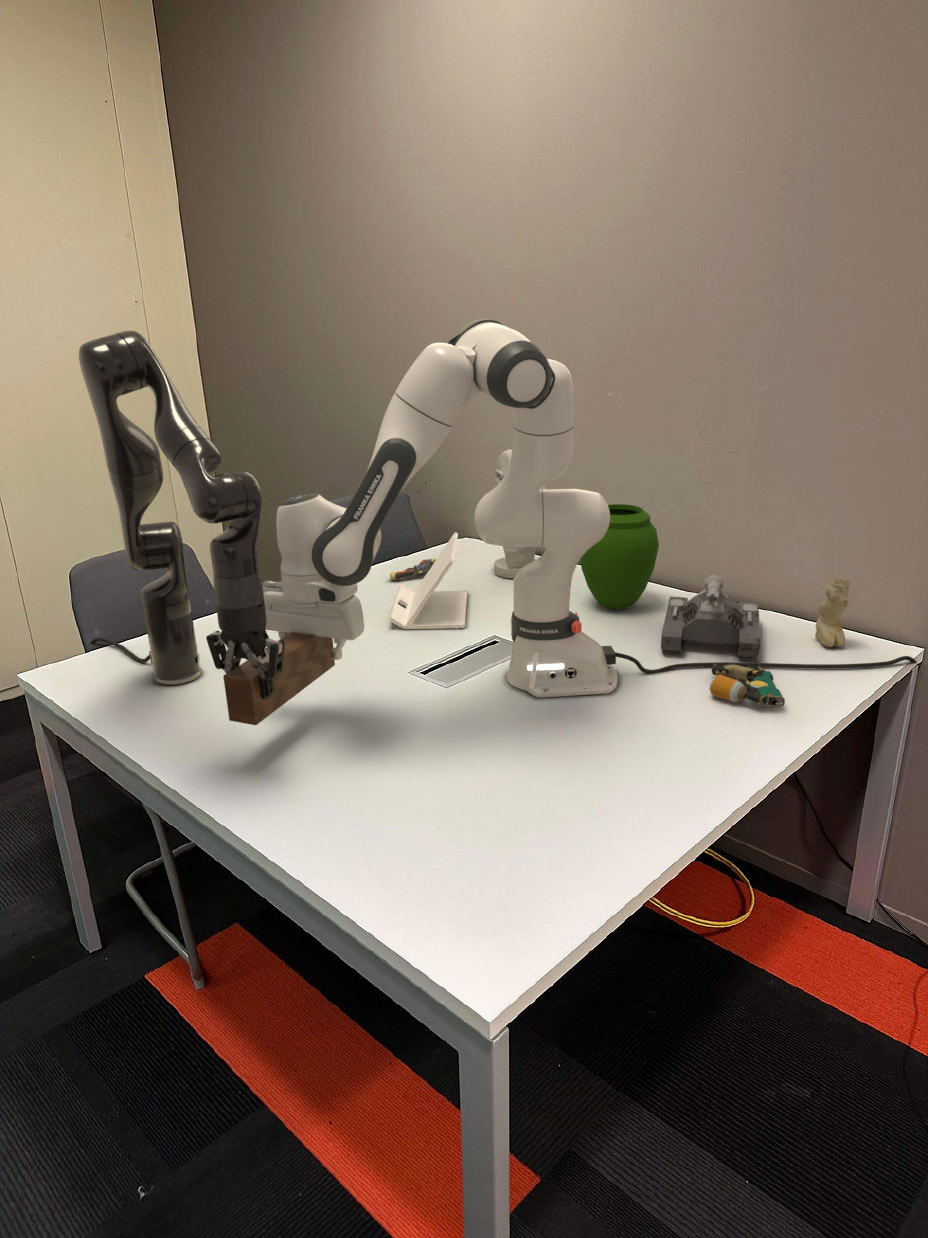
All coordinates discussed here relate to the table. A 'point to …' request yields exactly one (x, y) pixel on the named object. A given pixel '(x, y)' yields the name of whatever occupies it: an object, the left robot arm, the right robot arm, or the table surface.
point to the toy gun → (413, 570)
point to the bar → (277, 678)
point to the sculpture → (832, 613)
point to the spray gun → (745, 685)
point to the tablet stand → (431, 599)
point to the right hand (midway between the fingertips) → (314, 655)
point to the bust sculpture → (513, 555)
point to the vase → (622, 558)
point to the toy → (712, 621)
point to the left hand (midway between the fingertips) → (251, 694)
